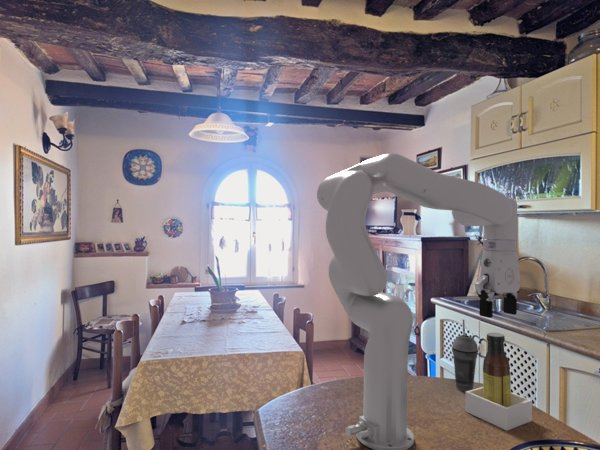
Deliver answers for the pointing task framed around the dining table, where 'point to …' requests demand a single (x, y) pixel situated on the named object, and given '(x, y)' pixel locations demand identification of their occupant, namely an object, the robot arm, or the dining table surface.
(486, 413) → the box
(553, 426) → the dining table surface
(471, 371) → the beverage cup
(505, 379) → the sauce bottle
